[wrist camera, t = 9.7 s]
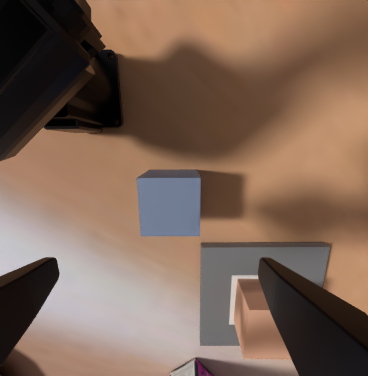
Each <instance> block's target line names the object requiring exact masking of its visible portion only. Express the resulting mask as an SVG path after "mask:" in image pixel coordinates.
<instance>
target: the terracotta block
mask: <svg viewBox="0 0 368 376" xmlns="http://www.w3.org/2000/svg"><path fill="white" fill-rule="evenodd" d="M233 321H234V325H235V328H236V332H237V336H238V339H239V343H240V347H241V350H242V354H243V358H244V359H287V360H292V359H291V357H290V355H289V353H288V350H287V348H286V346H285V344H284V342H283V340H282V337H281V335H280V333H279V331H278V329H277V327H276V324H275V322H274V320H273V318H272V315H271V313H270V310H269V307H268V304H267V302H266V299H265V296H264V293H263V290H262V287H261V285H260V282H259V279H237V287H236V298H235V309H234V320H233Z"/></svg>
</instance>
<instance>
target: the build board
mask: <svg viewBox="0 0 368 376" xmlns="http://www.w3.org/2000/svg"><path fill="white" fill-rule="evenodd" d="M329 251H330V247H329V246H328V245H327V244H325V243H324V242H267V243H201V276H200V346H240V343H239V339H238V336H237V332H236V328H235V325H234V321H233V320H234V309H235V298H236V287H237V279H258V268H259V260H260V258H261V257H270V258H272V259H274V260H275V261H277V262H279V263H281V264H282V265H284V266H286V267H287V268H289V269H291V270H293V271H294V272H296V273H298V274H299V275H301V276H303V277H305V278H306V279H308V280H310V281H311V282H313V283H315V284H317V285H318V286H320V287H322V286H323V281H324V276H325V271H326V266H327V261H328V256H329Z"/></svg>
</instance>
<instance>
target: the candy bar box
mask: <svg viewBox="0 0 368 376" xmlns="http://www.w3.org/2000/svg"><path fill="white" fill-rule="evenodd" d="M170 376H213V375H212V374H211V373H210V372H209V371H208V370H207V369H206V368H205V367H204V366H203V365H202V364H201V363H200V362H199V361H198V360H197V359H195V358H194V359H192V360H190V361H188V362H187V363H185V364H184V365H182V366H181V367H179V368H177V369H175V370H174V371H172V372H171V373H170Z"/></svg>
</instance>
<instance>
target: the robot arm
mask: <svg viewBox="0 0 368 376" xmlns="http://www.w3.org/2000/svg"><path fill="white" fill-rule="evenodd" d="M101 37H102V35H101V34H100V33H99V31H98V30H97V29H96V27H95V26H94V25H93V23H92V22H91V8H90V6H89V5H88V3H87V2H86V0H0V161H2V160H5V159H8V158H11V157H13V156H15V155H16V154H17V153H18V152H19V151H20V150H21V149H22V148H23V147H24V146H25V145H26V144H27V143H28V142H29V141H30V140H31V139H32V138H33V137H34V136H35V135H36V134H37V133H38V132H39V131H40V130H41V129H42V128H43V127H44V128H45V129H46V130H55V131H64V132H73V133H97V132H101V131H102V128H119V127H121V126H122V125H123V117H122V105H121V94H120V82H119V71H118V59H117V55H116V54H115V52H114V51H112V50H103V49H104V48H105V47H106V46H105V45H104V44H103V42H102V41H101V40H100V38H101ZM110 55H113V58H112V59H109V56H110ZM116 120H119V124H116V123H115V121H116ZM58 278H59V269H58V264H57V260H56V258H54V257H46V258H42V259H40V260H38V261H35V262H33V263H31V264H28V265H26V266H23V267H21V268H19V269H16V270H14V271H12V272H9V273H7V274H5V275H2V276H0V367H1V366H2V364H3V363H4V361H5V360H6V358H7V357H8V356H9V354H10V353H11V351H12V350H13V348H14V347H15V346H16V344H17V343H18V341H19V340H20V339H21V337H22V336H23V334H24V333H25V331H26V330H27V329H28V327H29V326H30V324H31V323H32V321H33V320H34V318H35V317H36V315H37V314H38V312H39V311H40V309H41V307H42V306H43V304H44V302H45V301H46V299H47V297H48V296H49V294H50V292H51V290H52V289H53V287H54V285H55V284H56V282H57V280H58ZM258 279H259V282H260V285H261V287H262V290H263V293H264V296H265V299H266V302H267V304H268V307H269V310H270V313H271V315H272V318H273V320H274V322H275V324H276V327H277V329H278V331H279V333H280V335H281V337H282V340H283V342H284V344H285V346H286V348H287V350H288V353H289V355H290V357H291V359H292V361H293V363H294V366H295V368H296V370H297V372H298V374H299V376H368V316H367V314H366V313H364V312H363V311H361V310H359V309H358V308H356V307H354V306H352V305H351V304H349V303H347V302H346V301H344V300H342V299H340V298H339V297H337V296H335V295H334V294H332V293H330V292H329V291H327V290H325V289H323V288H322V287H320V286H318V285H317V284H315V283H313V282H311V281H310V280H308V279H306V278H305V277H303V276H301V275H299V274H298V273H296V272H294V271H293V270H291V269H289V268H287V267H286V266H284V265H282V264H281V263H279V262H277V261H275V260H274V259H272V258H270V257H261V258H260V260H259V268H258Z"/></svg>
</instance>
